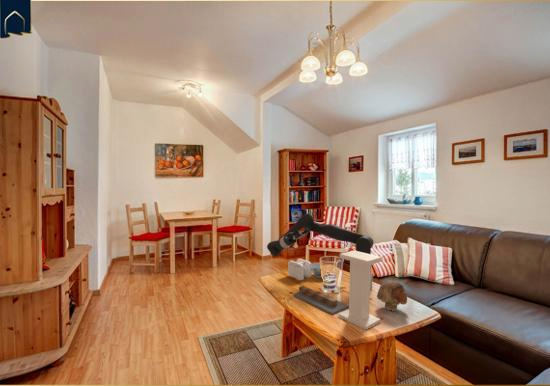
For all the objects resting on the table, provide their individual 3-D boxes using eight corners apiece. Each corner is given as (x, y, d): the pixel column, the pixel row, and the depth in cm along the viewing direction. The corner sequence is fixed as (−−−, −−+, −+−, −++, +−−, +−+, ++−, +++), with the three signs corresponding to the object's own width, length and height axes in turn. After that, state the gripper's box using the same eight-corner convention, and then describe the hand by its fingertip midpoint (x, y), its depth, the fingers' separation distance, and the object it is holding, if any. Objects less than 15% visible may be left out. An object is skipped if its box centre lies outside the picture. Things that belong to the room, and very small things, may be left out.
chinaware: (305, 275, 202) (305, 265, 202) (317, 271, 213) (318, 261, 213) (322, 281, 192) (322, 270, 191) (334, 276, 202) (335, 265, 202)
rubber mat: (293, 295, 167) (293, 294, 167) (309, 290, 176) (309, 288, 176) (332, 314, 143) (332, 312, 143) (349, 307, 152) (349, 305, 152)
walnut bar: (299, 291, 170) (299, 287, 170) (302, 290, 172) (302, 285, 172) (333, 306, 150) (333, 301, 150) (337, 305, 152) (337, 299, 152)
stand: (338, 316, 142) (339, 253, 140) (352, 310, 149) (354, 250, 148) (366, 329, 129) (367, 261, 128) (380, 322, 137) (382, 257, 135)
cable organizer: (312, 279, 196) (312, 262, 195) (301, 282, 190) (301, 265, 189) (298, 273, 208) (298, 257, 207) (287, 276, 202) (287, 260, 201)
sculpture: (399, 319, 140) (400, 289, 139) (370, 308, 152) (371, 280, 151) (413, 310, 149) (414, 283, 149) (385, 300, 161) (386, 275, 161)
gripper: (277, 236, 178) (292, 226, 167) (294, 233, 187) (309, 224, 176) (281, 247, 176) (297, 238, 165) (297, 244, 185) (313, 235, 174)
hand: (303, 230), depth 170 cm, fingers open, 8 cm apart
